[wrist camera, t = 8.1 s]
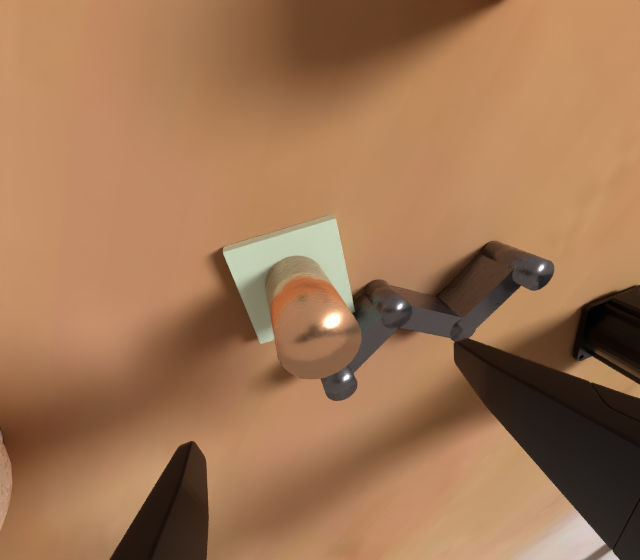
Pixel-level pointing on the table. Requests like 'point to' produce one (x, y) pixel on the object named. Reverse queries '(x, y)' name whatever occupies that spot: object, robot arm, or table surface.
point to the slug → (309, 319)
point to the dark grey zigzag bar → (440, 305)
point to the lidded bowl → (4, 481)
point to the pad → (266, 250)
